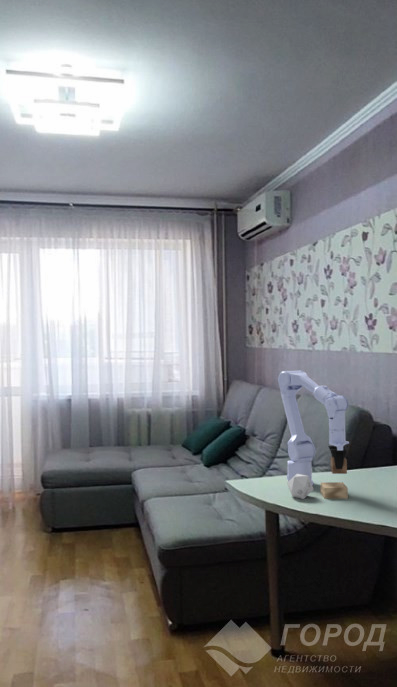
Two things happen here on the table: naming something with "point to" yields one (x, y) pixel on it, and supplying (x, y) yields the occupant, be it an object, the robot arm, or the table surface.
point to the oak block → (334, 490)
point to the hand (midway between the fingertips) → (338, 467)
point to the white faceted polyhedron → (300, 486)
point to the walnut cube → (338, 471)
